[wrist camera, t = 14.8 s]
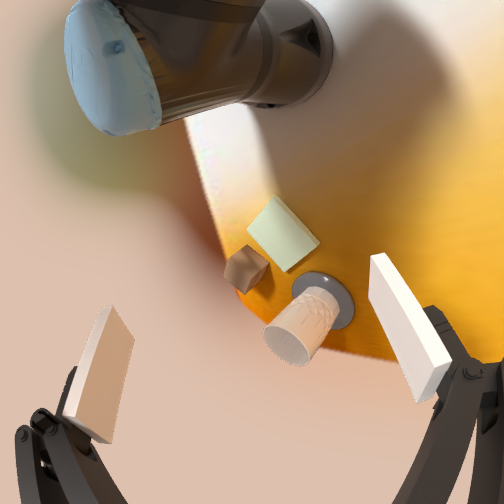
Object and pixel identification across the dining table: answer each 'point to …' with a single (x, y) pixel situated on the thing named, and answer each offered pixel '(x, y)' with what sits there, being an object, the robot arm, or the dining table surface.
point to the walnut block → (245, 269)
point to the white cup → (302, 326)
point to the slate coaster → (334, 288)
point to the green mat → (282, 234)
